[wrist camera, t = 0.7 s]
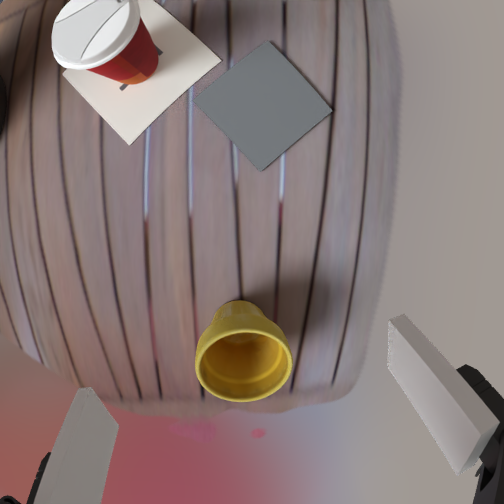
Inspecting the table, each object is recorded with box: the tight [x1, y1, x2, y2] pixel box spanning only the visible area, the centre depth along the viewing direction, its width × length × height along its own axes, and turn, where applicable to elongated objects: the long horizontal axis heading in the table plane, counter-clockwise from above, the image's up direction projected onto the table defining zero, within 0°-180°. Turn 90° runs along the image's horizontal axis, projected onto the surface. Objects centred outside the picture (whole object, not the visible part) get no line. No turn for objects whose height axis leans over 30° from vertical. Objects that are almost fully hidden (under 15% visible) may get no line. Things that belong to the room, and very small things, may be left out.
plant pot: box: [195, 300, 293, 402], centre depth 35 cm, size 10×10×10 cm
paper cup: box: [52, 0, 159, 85], centre depth 22 cm, size 8×8×14 cm
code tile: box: [62, 0, 221, 146], centre depth 29 cm, size 14×14×1 cm
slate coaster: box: [193, 41, 332, 172], centre depth 31 cm, size 11×11×1 cm
